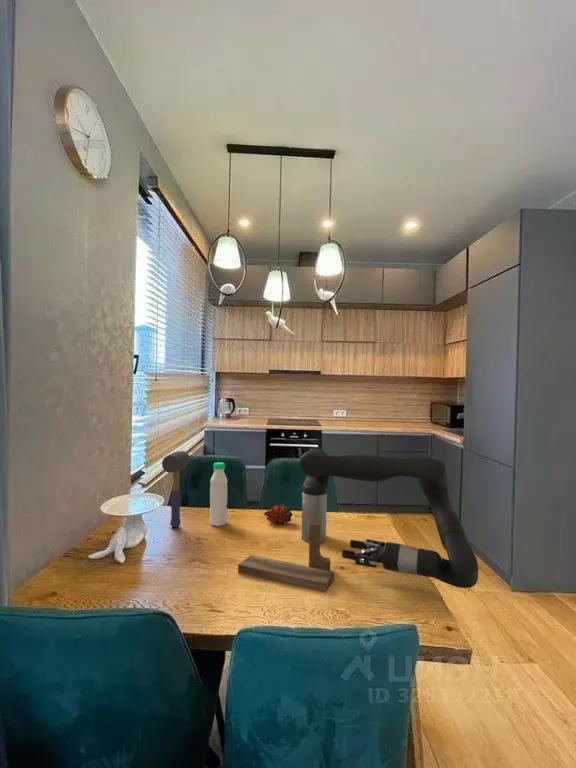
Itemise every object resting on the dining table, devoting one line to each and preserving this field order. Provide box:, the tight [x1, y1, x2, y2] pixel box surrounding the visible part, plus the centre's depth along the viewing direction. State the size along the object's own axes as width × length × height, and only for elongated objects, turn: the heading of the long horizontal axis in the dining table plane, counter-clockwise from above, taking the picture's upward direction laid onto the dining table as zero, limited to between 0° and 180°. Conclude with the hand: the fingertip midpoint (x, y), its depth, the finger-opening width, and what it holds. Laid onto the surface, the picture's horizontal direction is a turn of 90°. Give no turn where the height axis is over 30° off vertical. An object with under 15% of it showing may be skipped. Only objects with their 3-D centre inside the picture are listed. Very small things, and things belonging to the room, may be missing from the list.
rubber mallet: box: [161, 450, 191, 528], centre depth 165 cm, size 12×8×30 cm, turn 170°
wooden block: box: [308, 521, 331, 571], centre depth 128 cm, size 7×3×15 cm, turn 86°
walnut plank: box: [237, 554, 335, 593], centre depth 124 cm, size 8×28×3 cm, turn 66°
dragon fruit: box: [263, 503, 293, 526], centre depth 172 cm, size 8×8×12 cm
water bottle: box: [209, 461, 228, 527], centre depth 170 cm, size 7×7×25 cm
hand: (346, 548), depth 125 cm, fingers open, 8 cm apart
